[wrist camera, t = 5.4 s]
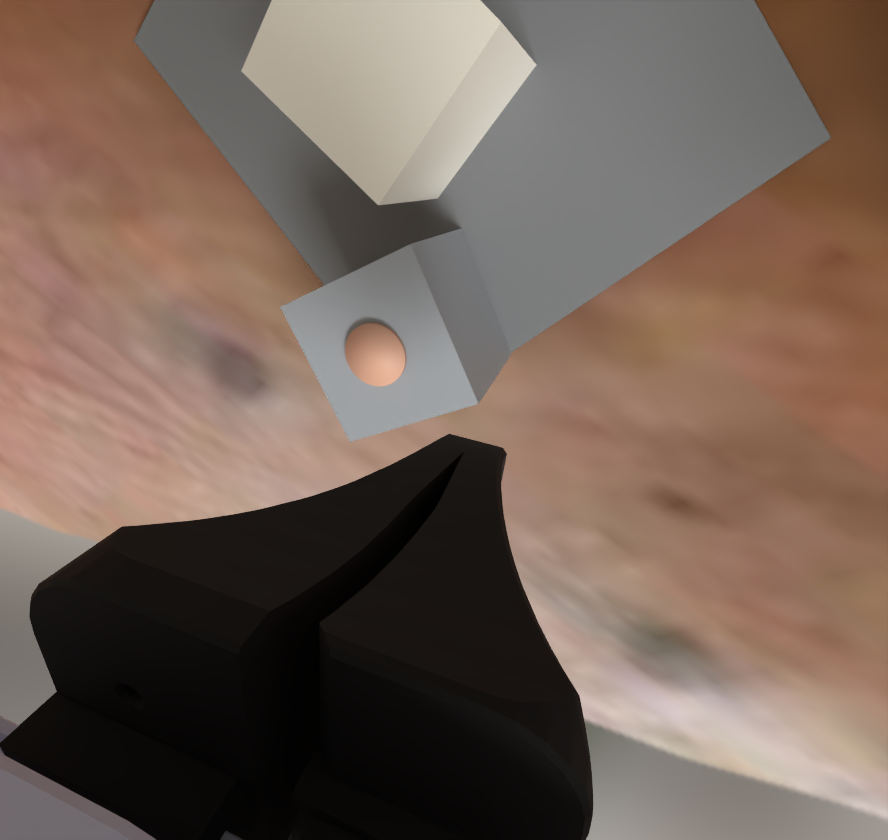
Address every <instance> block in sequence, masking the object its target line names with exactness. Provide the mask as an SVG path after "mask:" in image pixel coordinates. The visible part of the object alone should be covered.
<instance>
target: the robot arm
mask: <svg viewBox="0 0 888 840" xmlns="http://www.w3.org/2000/svg"><path fill="white" fill-rule="evenodd" d="M506 455H507V454H506V452H505V451H504V449H503V448H501V447H498V446H494V445H490V444H486V443H482V442H478V441H474V440H471V439H467V438H463V437H459V436H455V435H451V434H448V435H446V436H444V437H442V438H440V439H438V440H437V441H435V442H433V443H431V444H429V445H428V446H426V447H424V448H422V449H420V450H419V451H417V452H415V453H413V454H411V455H409V456H407V457H405V458H403V459H401V460H399V461H398V462H396V463H394V464H392V465H390V466H387V467H385V468H383V469H381V470H378V471H376V472H374V473H372V474H370V475H367V476H365V477H363V478H361V479H358V480H356V481H354V482H351V483H349V484H346V485H343V486H341V487H338V488H335V489H332V490H329V491H326V492H323V493H320V494H317V495H314V496H311V497H307V498H304V499H300V500H296V501H292V502H288V503H284V504H280V505H276V506H272V507H268V508H264V509H260V510H255V511H250V512H244V513H239V514H234V515H227V516H221V517H214V518H208V519H201V520H193V521H184V522H173V523H162V524H151V525H140V526H125V527H121V528H119V529H118V530H116V531H115V532H113V533H112V534H111V535H109V536H108V537H106V538H105V539H103V540H102V541H100V542H99V543H97V544H96V545H95V546H93V547H92V548H90V549H89V550H87V551H86V552H84V553H83V554H82V555H80V556H79V557H77V558H76V559H74V560H73V561H71V562H70V563H69V564H67V565H66V566H64V567H63V568H61V569H60V570H58V571H57V572H55V573H54V574H53V575H51V576H50V577H48V578H47V579H46V580H44V581H42V582H41V583H40V584H39V585H38V586H37V588H36V589H35V591H34V592H33V594H32V597H31V603H30V620H31V624H32V628H33V631H34V635H35V637H36V639H37V642H38V645H39V647H40V650H41V652H42V655H43V657H44V660H45V662H46V665H47V668H48V670H49V672H50V675H51V677H52V680H53V683H54V685H55V688H56V690H57V692H56V693H55V694H54V695H53V696H51V698H49V699H48V700H47V701H46V702H45V703H44V704H43V705H41V706H40V707H39V708H38V709H37V710H36V711H35V712H34V713H32V714H31V715H30V716H29V717H28V718H27V719H26V720H25V721H24V722H23V723H22V724H20V725H17V724H15V723H13V722H11V721H9V720H7V719H5V718H3V717H1V716H0V840H586V837H587V836H588V834H589V830H590V826H591V821H592V815H593V787H592V772H591V762H590V753H589V747H588V741H587V734H586V728H585V723H584V718H583V712H582V707H581V702H580V697H579V694H578V693H577V691H576V690H575V688H574V686H573V685H572V683H571V682H570V680H569V678H568V677H567V675H566V673H565V672H564V670H563V668H562V667H561V665H560V663H559V661H558V660H557V658H556V656H555V654H554V653H553V651H552V649H551V647H550V645H549V643H548V641H547V639H546V637H545V635H544V633H543V631H542V629H541V627H540V626H539V624H538V621H537V619H536V617H535V614H534V612H533V610H532V607H531V605H530V603H529V600H528V598H527V596H526V593H525V591H524V589H523V586H522V583H521V581H520V578H519V575H518V572H517V569H516V566H515V563H514V559H513V556H512V552H511V549H510V545H509V540H508V536H507V531H506V526H505V520H504V514H503V506H502V494H501V480H502V475H503V470H504V465H505V460H506Z"/></svg>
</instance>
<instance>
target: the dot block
mask: <svg viewBox="0 0 888 840" xmlns="http://www.w3.org/2000/svg"><path fill="white" fill-rule="evenodd" d="M280 308H281V309H282V311H283V313H284V315H285V317H286V319H287V321H288V323H289V325H290V327H291V329H292V331H293V333H294V335H295V337H296V338H297V340H298V342H299V344H300V346H301V348H302V350H303V352H304V354H305V356H306V358H307V360H308V362H309V364H310V366H311V367H312V369H313V371H314V373H315V375H316V377H317V379H318V381H319V383H320V385H321V387H322V389H323V391H324V393H325V395H326V396H327V398H328V400H329V402H330V404H331V406H332V408H333V410H334V412H335V414H336V416H337V418H338V420H339V422H340V424H341V425H342V427H343V429H344V431H345V433H346V435H347V437H348V439H349V441H350V442H351V441H355V440H358V439H361V438H365V437H368V436H372V435H375V434H378V433H382V432H385V431H388V430H392V429H395V428H399V427H402V426H405V425H409V424H412V423H415V422H419V421H422V420H426V419H429V418H432V417H436V416H439V415H442V414H446V413H449V412H453V411H456V410H459V409H463V408H466V407H469V406H473V405H476V404H479V402H480V401H481V399H482V398H483V396H484V395H485V393H486V392H487V390H488V389H489V387H490V386H491V384H492V383H493V381H494V380H495V378H496V377H497V375H498V374H499V372H500V371H501V369H502V368H503V366H504V364H505V363H506V361H507V360H508V358H509V357H510V355H511V353H510V350H509V347H508V345H507V342H506V340H505V337H504V335H503V332H502V330H501V327H500V325H499V322H498V319H497V317H496V314H495V312H494V309H493V307H492V304H491V302H490V299H489V296H488V294H487V291H486V289H485V286H484V284H483V281H482V279H481V276H480V274H479V271H478V268H477V266H476V263H475V261H474V258H473V256H472V253H471V251H470V248H469V246H468V243H467V240H466V238H465V235H464V233H463V230H462V228H461V229H458V230H455V231H451V232H448V233H445V234H442V235H438V236H435V237H432V238H429V239H425V240H422V241H419V242H416V243H412V244H410V245H408V246H405V247H403V248H401V249H399V250H397V251H395V252H393V253H391V254H389V255H387V256H385V257H383V258H381V259H379V260H376V261H374V262H372V263H370V264H368V265H366V266H364V267H362V268H360V269H358V270H356V271H354V272H352V273H350V274H348V275H345V276H343V277H341V278H339V279H337V280H335V281H333V282H331V283H329V284H327V285H325V286H323V287H321V288H319V289H316V290H314V291H312V292H310V293H308V294H306V295H304V296H302V297H300V298H298V299H296V300H294V301H292V302H290V303H288V304H285V305H283V306H281V307H280Z"/></svg>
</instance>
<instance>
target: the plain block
mask: <svg viewBox="0 0 888 840" xmlns="http://www.w3.org/2000/svg"><path fill="white" fill-rule="evenodd" d="M535 66H536V63H535V62H534V61H533V60H532V59H531V57H530V56H529V55H528V54H527V53H526V51H525V50H524V49H523V48H522V46H521V45H520V44H519V43H518V42H517V40H516V39H515V38H514V37H513V35H512V34H511V33H510V32H509V31H508V29H507V28H506V27H505V26H504V25H503V23H502V22H501V21H500V20H499V19H498V18H497V17H496V16H495V15H494V14H493V13H492V12H491V11H490V10H489V9H488V8H487V7H486V6H485V5H484V3H483V2H482V1H481V0H272V1H271V3H270V5H269V8H268V10H267V12H266V15H265V17H264V19H263V22H262V24H261V26H260V29H259V31H258V33H257V36H256V38H255V40H254V43H253V45H252V47H251V50H250V52H249V54H248V57H247V59H246V61H245V64H244V66H243V68H242V71H241V72H243V73H244V74H245V75H246V76H247V77H248V78H249V79H250V80H251V81H252V82H253V83H254V84H255V85H256V86H257V87H258V88H259V89H260V90H261V91H262V92H263V93H264V94H265V95H266V96H267V97H268V98H269V99H270V100H271V101H272V102H273V103H274V104H275V105H276V106H277V107H278V108H279V109H280V110H281V111H282V112H283V113H284V114H285V115H286V116H287V117H288V118H290V119H291V120H292V121H293V122H294V123H295V124H296V125H297V126H298V127H299V128H300V129H301V130H302V131H303V132H304V133H305V134H306V135H307V136H308V137H309V138H310V139H311V140H312V141H313V142H314V143H315V144H316V145H317V146H318V147H319V148H320V149H321V150H322V151H323V152H324V153H325V154H326V155H327V156H328V157H329V158H330V159H331V160H332V161H333V162H334V163H335V164H336V165H338V166H339V167H340V168H341V169H342V170H343V171H344V172H345V173H346V174H347V175H348V176H349V177H350V178H351V179H352V180H353V181H354V182H355V183H356V184H357V185H358V186H359V187H360V188H361V189H362V190H363V191H364V192H365V193H366V194H367V195H368V196H369V197H370V198H371V199H372V200H373V201H374V202H375V203H376V204H377V205H386V204H395V203H403V202H412V201H421V200H430V199H438V197H439V196H440V195H441V193H442V192H443V191H444V189H445V188H446V186H447V185H448V184H449V182H450V181H451V180H452V178H453V177H454V176H455V174H456V173H457V172H458V170H459V169H460V168H461V166H462V165H463V164H464V162H465V161H466V159H467V158H468V157H469V155H470V154H471V153H472V151H473V150H474V149H475V147H476V146H477V145H478V143H479V142H480V141H481V139H482V138H483V136H484V135H485V134H486V132H487V131H488V130H489V128H490V127H491V126H492V124H493V123H494V122H495V120H496V119H497V118H498V116H499V115H500V114H501V112H502V111H503V109H504V108H505V107H506V105H507V104H508V103H509V101H510V100H511V99H512V97H513V96H514V95H515V93H516V92H517V91H518V89H519V88H520V87H521V85H522V84H523V82H524V81H525V80H526V78H527V77H528V76H529V74H530V73H531V72H532V70H533V69H534V68H535Z"/></svg>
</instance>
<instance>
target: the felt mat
mask: <svg viewBox="0 0 888 840" xmlns="http://www.w3.org/2000/svg"><path fill="white" fill-rule="evenodd" d="M271 1H272V0H154V2H153V4H152V6H151V8H150V10H149V12H148V14H147V16H146V18H145V20H144V22H143V24H142V26H141V28H140V30H139V32H138V34H137V36H136V37H135V39H134V42H135V43H136V44H137V46H138V47H139V48H140V49H141V51H142V52H143V53H144V54H145V56H146V57H147V58H148V60H149V61H150V62H151V63H152V65H153V66H154V67H155V69H156V70H157V71H158V72H159V74H160V75H161V76H162V78H163V79H164V80H165V81H166V83H167V84H168V85H169V87H170V88H171V89H172V90H173V92H174V93H175V94H176V95H177V97H178V98H179V99H180V101H181V102H182V103H183V104H184V106H185V107H186V108H187V110H188V111H189V112H190V113H191V115H192V116H193V117H194V119H195V120H196V121H197V122H198V124H199V125H200V126H201V128H202V129H203V130H204V131H205V133H206V134H207V135H208V137H209V138H210V139H211V140H212V142H213V143H214V144H215V145H216V147H217V148H218V149H219V151H220V152H221V153H222V154H223V156H224V157H225V158H226V160H227V161H228V162H229V163H230V165H231V166H232V167H233V169H234V170H235V171H236V172H237V174H238V175H239V176H240V178H241V179H242V180H243V181H244V183H245V184H246V185H247V187H248V188H249V189H250V190H251V192H252V193H253V194H254V195H255V197H256V198H257V199H258V201H259V202H260V203H261V204H262V206H263V207H264V208H265V210H266V211H267V212H268V213H269V215H270V216H271V217H272V219H273V220H274V221H275V222H276V224H277V225H278V226H279V228H280V229H281V230H282V231H283V233H284V234H285V235H286V236H287V238H288V239H289V240H290V242H291V243H292V244H293V245H294V247H295V248H296V249H297V251H298V252H299V253H300V254H301V256H302V257H303V258H304V260H305V261H306V262H307V263H308V265H309V266H310V267H311V269H312V270H313V271H314V272H315V274H316V275H317V276H318V278H319V279H320V280H321V281H322V283H323V284H324V285H327V284H329V283H331V282H333V281H335V280H337V279H339V278H341V277H343V276H345V275H348V274H350V273H352V272H354V271H356V270H358V269H360V268H362V267H364V266H366V265H368V264H370V263H372V262H374V261H376V260H379V259H381V258H383V257H385V256H387V255H389V254H391V253H393V252H395V251H397V250H399V249H401V248H403V247H405V246H408V245H410V244H412V243H416V242H419V241H422V240H425V239H429V238H432V237H435V236H438V235H442V234H445V233H448V232H451V231H455V230H458V229H461V228H462V230H463V233H464V235H465V238H466V240H467V243H468V246H469V248H470V251H471V253H472V256H473V258H474V261H475V263H476V266H477V268H478V271H479V274H480V276H481V279H482V281H483V284H484V286H485V289H486V291H487V294H488V296H489V299H490V302H491V304H492V307H493V309H494V312H495V314H496V317H497V319H498V322H499V325H500V327H501V330H502V332H503V335H504V337H505V340H506V342H507V345H508V347H509V350H510V353H511V352H513V351H514V350H516V349H517V348H519V347H520V346H522V345H523V344H525V343H526V342H528V341H529V340H531V339H532V338H534V337H535V336H536V335H538V334H539V333H541V332H542V331H544V330H545V329H547V328H548V327H550V326H551V325H553V324H554V323H556V322H557V321H559V320H560V319H562V318H563V317H565V316H566V315H568V314H569V313H571V312H572V311H574V310H575V309H577V308H578V307H580V306H581V305H583V304H584V303H586V302H587V301H589V300H590V299H592V298H593V297H595V296H596V295H598V294H599V293H601V292H602V291H604V290H605V289H607V288H608V287H610V286H611V285H613V284H614V283H616V282H617V281H619V280H620V279H621V278H623V277H624V276H626V275H627V274H629V273H630V272H632V271H633V270H635V269H636V268H638V267H639V266H641V265H642V264H644V263H645V262H647V261H648V260H650V259H651V258H653V257H654V256H656V255H657V254H659V253H660V252H662V251H663V250H665V249H666V248H668V247H669V246H671V245H672V244H674V243H675V242H677V241H678V240H680V239H681V238H683V237H684V236H686V235H687V234H689V233H690V232H692V231H693V230H695V229H696V228H698V227H699V226H701V225H702V224H704V223H705V222H706V221H708V220H709V219H711V218H712V217H714V216H715V215H717V214H718V213H720V212H721V211H723V210H724V209H726V208H727V207H729V206H730V205H732V204H733V203H735V202H736V201H738V200H739V199H741V198H742V197H744V196H745V195H747V194H748V193H750V192H751V191H753V190H754V189H756V188H757V187H759V186H760V185H762V184H763V183H765V182H766V181H768V180H769V179H771V178H772V177H774V176H775V175H777V174H778V173H780V172H781V171H783V170H784V169H786V168H787V167H789V166H790V165H791V164H793V163H794V162H796V161H797V160H799V159H800V158H802V157H803V156H805V155H806V154H808V153H809V152H811V151H812V150H814V149H815V148H817V147H818V146H820V145H821V144H823V143H824V142H826V141H827V140H829V139H830V138H831V136H830V135H829V133H828V131H827V129H826V127H825V126H824V124H823V122H822V120H821V119H820V117H819V115H818V113H817V111H816V110H815V108H814V106H813V104H812V102H811V101H810V99H809V97H808V95H807V94H806V92H805V90H804V88H803V86H802V85H801V83H800V81H799V79H798V77H797V76H796V74H795V72H794V70H793V69H792V67H791V65H790V63H789V61H788V60H787V58H786V56H785V54H784V52H783V51H782V49H781V47H780V45H779V44H778V42H777V40H776V38H775V36H774V35H773V33H772V31H771V29H770V27H769V26H768V24H767V22H766V20H765V18H764V17H763V15H762V13H761V11H760V10H759V8H758V6H757V4H756V2H755V1H754V0H481V1H482V2H483V3H484V5H485V6H486V7H487V8H488V9H489V10H490V11H491V12H492V13H493V14H494V15H495V16H496V17H497V18H498V19H499V20H500V21H501V22H502V23H503V25H504V26H505V27H506V28H507V29H508V31H509V32H510V33H511V34H512V35H513V37H514V38H515V39H516V40H517V42H518V43H519V44H520V45H521V46H522V48H523V49H524V50H525V51H526V53H527V54H528V55H529V56H530V57H531V59H532V60H533V61H534V62H535V63H536V66H535V68H534V69H533V70H532V72H531V73H530V74H529V76H528V77H527V78H526V80H525V81H524V82H523V84H522V85H521V87H520V88H519V89H518V91H517V92H516V93H515V95H514V96H513V97H512V99H511V100H510V101H509V103H508V104H507V105H506V107H505V108H504V109H503V111H502V112H501V114H500V115H499V116H498V118H497V119H496V120H495V122H494V123H493V124H492V126H491V127H490V128H489V130H488V131H487V132H486V134H485V135H484V136H483V138H482V139H481V141H480V142H479V143H478V145H477V146H476V147H475V149H474V150H473V151H472V153H471V154H470V155H469V157H468V158H467V159H466V161H465V162H464V164H463V165H462V166H461V168H460V169H459V170H458V172H457V173H456V174H455V176H454V177H453V178H452V180H451V181H450V182H449V184H448V185H447V186H446V188H445V189H444V191H443V192H442V193H441V195H440V196H439V197H438V199H430V200H421V201H412V202H403V203H395V204H386V205H377V204H376V203H375V202H374V201H373V200H372V199H371V198H370V197H369V196H368V195H367V194H366V193H365V192H364V191H363V190H362V189H361V188H360V187H359V186H358V185H357V184H356V183H355V182H354V181H353V180H352V179H351V178H350V177H349V176H348V175H347V174H346V173H345V172H344V171H343V170H342V169H341V168H340V167H339V166H338V165H336V164H335V163H334V162H333V161H332V160H331V159H330V158H329V157H328V156H327V155H326V154H325V153H324V152H323V151H322V150H321V149H320V148H319V147H318V146H317V145H316V144H315V143H314V142H313V141H312V140H311V139H310V138H309V137H308V136H307V135H306V134H305V133H304V132H303V131H302V130H301V129H300V128H299V127H298V126H297V125H296V124H295V123H294V122H293V121H292V120H291V119H290V118H288V117H287V116H286V115H285V114H284V113H283V112H282V111H281V110H280V109H279V108H278V107H277V106H276V105H275V104H274V103H273V102H272V101H271V100H270V99H269V98H268V97H267V96H266V95H265V94H264V93H263V92H262V91H261V90H260V89H259V88H258V87H257V86H256V85H255V84H254V83H253V82H252V81H251V80H250V79H249V78H248V77H247V76H246V75H245V74H244V73H243V72H241V71H242V68H243V66H244V64H245V61H246V59H247V57H248V54H249V52H250V50H251V47H252V45H253V43H254V40H255V38H256V36H257V33H258V31H259V29H260V26H261V24H262V22H263V19H264V17H265V15H266V12H267V10H268V8H269V5H270V3H271Z"/></svg>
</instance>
